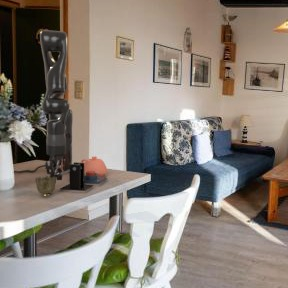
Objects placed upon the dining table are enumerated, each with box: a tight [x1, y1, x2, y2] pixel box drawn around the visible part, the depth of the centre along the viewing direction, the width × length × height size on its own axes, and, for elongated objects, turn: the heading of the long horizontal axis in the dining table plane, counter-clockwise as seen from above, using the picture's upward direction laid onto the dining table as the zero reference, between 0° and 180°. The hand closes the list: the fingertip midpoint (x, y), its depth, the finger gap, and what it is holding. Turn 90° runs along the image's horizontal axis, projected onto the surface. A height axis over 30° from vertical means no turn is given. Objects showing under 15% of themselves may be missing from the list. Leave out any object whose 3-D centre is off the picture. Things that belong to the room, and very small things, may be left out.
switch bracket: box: [59, 161, 94, 192], centre depth 166 cm, size 11×9×12 cm
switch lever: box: [56, 164, 82, 178], centre depth 165 cm, size 12×5×2 cm, turn 91°
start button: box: [86, 171, 95, 176], centre depth 179 cm, size 4×4×2 cm
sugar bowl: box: [80, 156, 108, 176], centre depth 192 cm, size 12×14×10 cm
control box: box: [84, 173, 108, 185], centre depth 179 cm, size 12×10×4 cm
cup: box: [35, 175, 57, 197], centre depth 153 cm, size 8×7×8 cm
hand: (56, 181), depth 166 cm, fingers closed on switch lever, 5 cm apart
